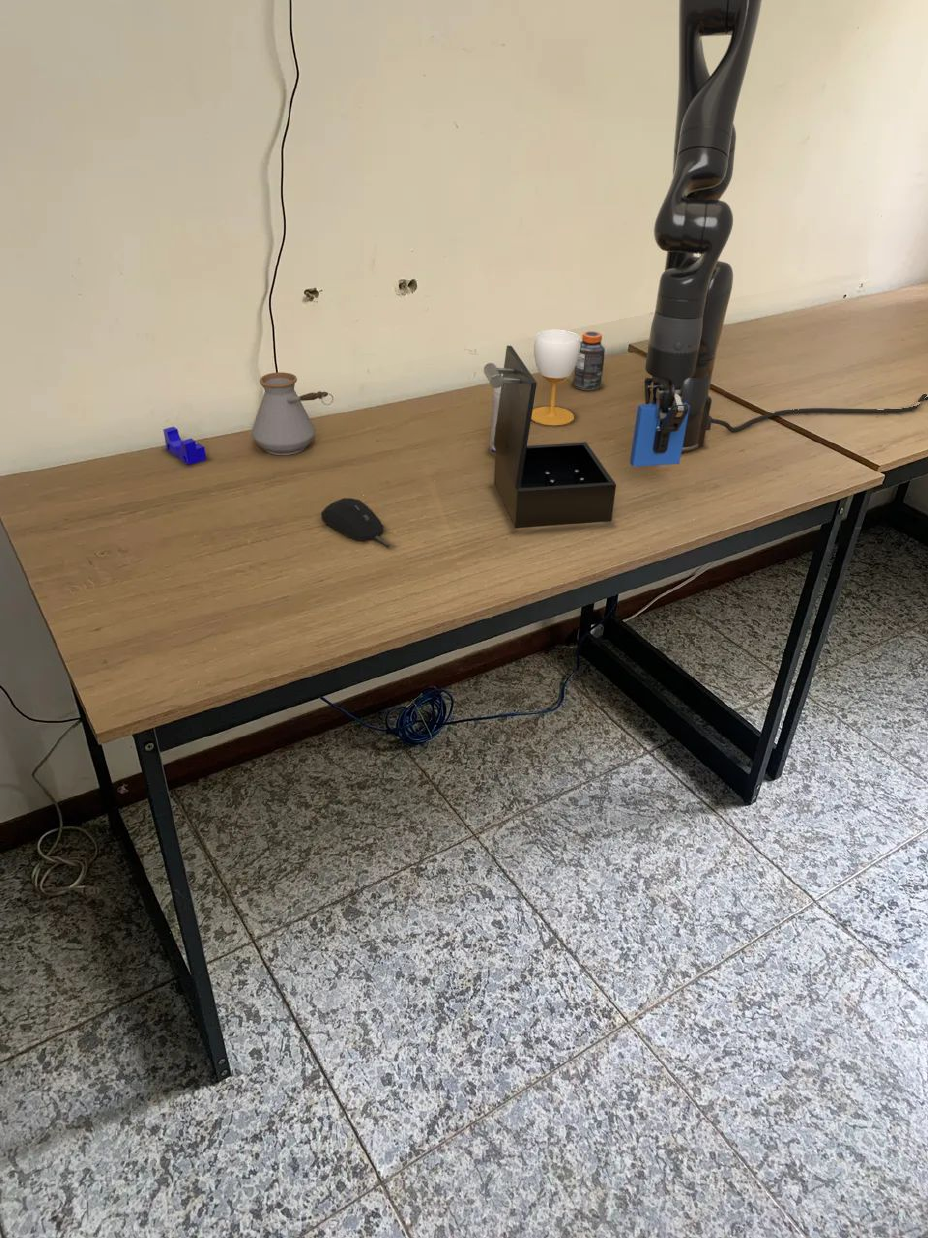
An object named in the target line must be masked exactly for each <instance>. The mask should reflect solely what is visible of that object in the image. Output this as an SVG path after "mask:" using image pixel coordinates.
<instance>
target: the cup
mask: <svg viewBox="0 0 928 1238" xmlns="http://www.w3.org/2000/svg"><path fill="white" fill-rule="evenodd" d="M580 342H581V337H580V335H579V334H578V333H576V332H573V331H569V330H566V329H546V330H541V331H539V332H537V333H536V334H535V339H534V344H533V356H534V364H535V366H536V368H537V371H538V374H540V375H541V376H542V378H543V379H544V380H545V381H548V382H550V383H551V391H550V405H549V406H540V407H536V408H533V411H532V417H531V421H533V422H535V423H536V424H540V425H544V426H551V427H554V426H556V427H557V426H565V425H568V424H570V423H572V422H573V421H574V420H575V415H574V413H573V412H572V411H570V410H568V409H566V408H563V407H558V406H555V405H556V394H557V393H556V391H557V385H558V383H560V382H563V381H565V380H566V379H567V378H569V377H570V376H571V375H572V374H573V372H574V371H575V367H576V364H577V361H578V358H579V353H580V347H581V344H580Z"/></svg>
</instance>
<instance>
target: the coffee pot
mask: <svg viewBox="0 0 928 1238" xmlns="http://www.w3.org/2000/svg"><path fill="white" fill-rule="evenodd" d="M297 381H298V378H297V376H296V375H295V374H292V373H289V372H279V371H278V372H271V373H266V374H264V375H262V376H261V377H260V379H259V384H260V386H262V388H263V390H264V393H263V395H262V398H261V402H260V404H259V408H258V411H257V415H256V417H255V421H254V424H253V427H252V429H251V437H252V439H253V441H254V443H255V444H256V445H258V446H259V447H260V448H261V449H263V450H264V451H265V452H266V453H268V454H271V455H276V456H289V455H294V454H298V453H301V452H303V451H304V450H305V449H306V447H308V446H309V445H310V444H311V443H312V441H313V440H314V438H315V435H316V428H315V425H314V423H313V421H312V420H311V418H310V416H309V415H308V413H307V410H306V409H305V406H304V405H303V404H302V402H304V401H315V400H317V399H318V400H320V402H321V403H322V404H323V405H325V406H326V405H327V406H329V405H331V404H332V403H333V402H334V396H333V395H332V394H331V393H329V392H327V391H317V392H309V393H305V394H302V395H299V396H298V394H297V392H296V390H295V384H296V383H297ZM327 396H330V397H331V402H329V403H324V400H323V398H326V397H327Z"/></svg>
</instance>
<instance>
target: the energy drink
mask: <svg viewBox="0 0 928 1238" xmlns="http://www.w3.org/2000/svg"><path fill="white" fill-rule="evenodd" d="M500 392H501V386H500V387H498V388H494V387H493V391H492V396H491V397H492V398H491V399H492V400H491V417H490V418H491V421H490V443H489V447H490V448H489V451H490V453H491V452H492V453H494V454H495V447H494V445H493V443H494V436H495V429H496V421H497V414H498V407H499V400H500Z"/></svg>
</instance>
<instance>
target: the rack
mask: <svg viewBox="0 0 928 1238" xmlns="http://www.w3.org/2000/svg"><path fill="white" fill-rule="evenodd" d="M549 475H550V473H549V472H545V483H544V487H547V486H549ZM578 476H579V470H575V473H574V483H573V485H577V484H578ZM579 484H584V478H580V482H579ZM550 486H554V480H550Z"/></svg>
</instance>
